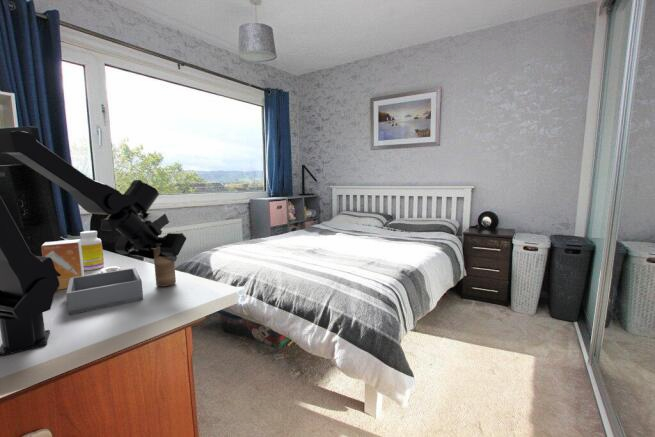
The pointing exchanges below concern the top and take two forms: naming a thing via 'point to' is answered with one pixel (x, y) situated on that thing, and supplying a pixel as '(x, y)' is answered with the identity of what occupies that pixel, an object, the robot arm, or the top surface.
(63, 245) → the small box
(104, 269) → the saw cookie cutter
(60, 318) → the top surface
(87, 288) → the grey tote
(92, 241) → the supplement bottle
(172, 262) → the brown cylinder
